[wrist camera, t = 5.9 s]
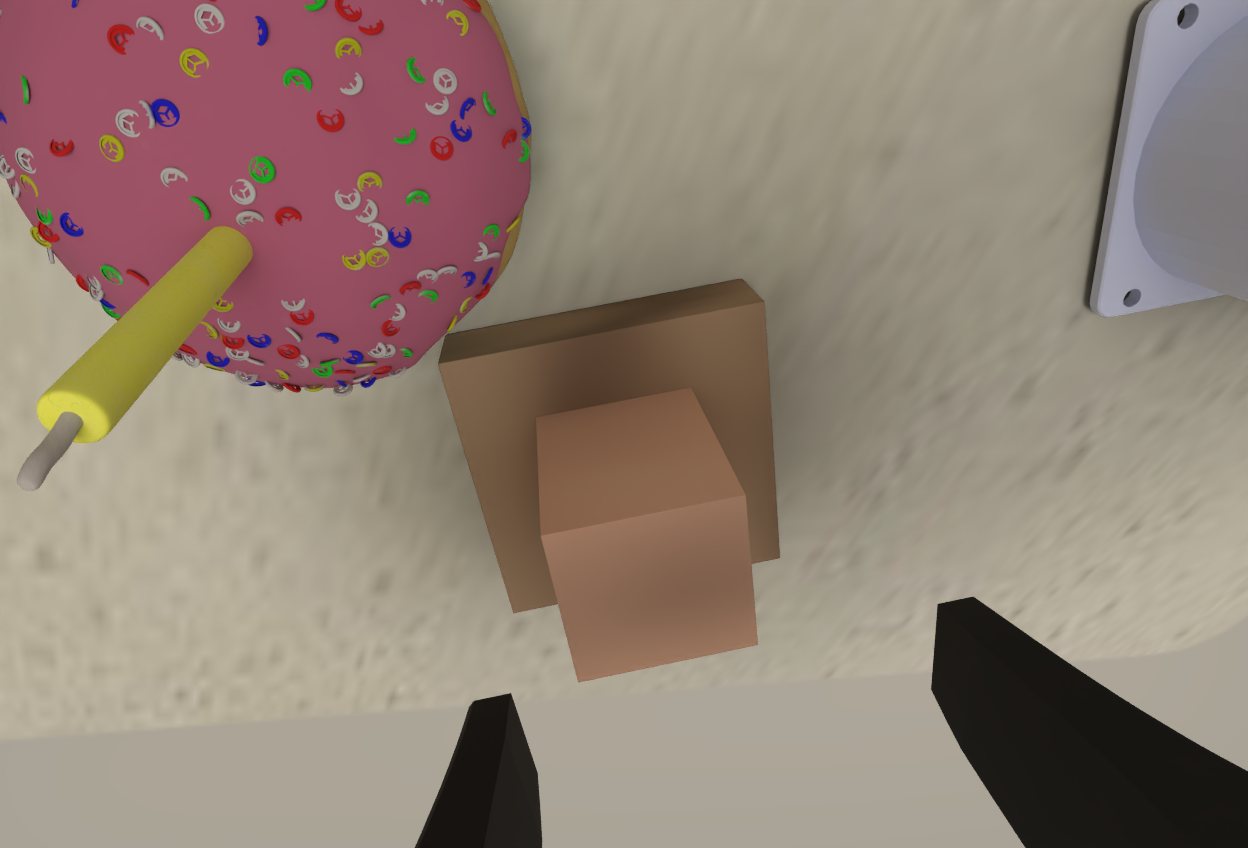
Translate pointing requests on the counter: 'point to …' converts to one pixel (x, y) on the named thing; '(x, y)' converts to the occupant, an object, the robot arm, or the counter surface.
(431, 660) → the counter surface
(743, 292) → the base
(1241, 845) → the robot arm
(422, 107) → the cupcake
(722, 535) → the block
